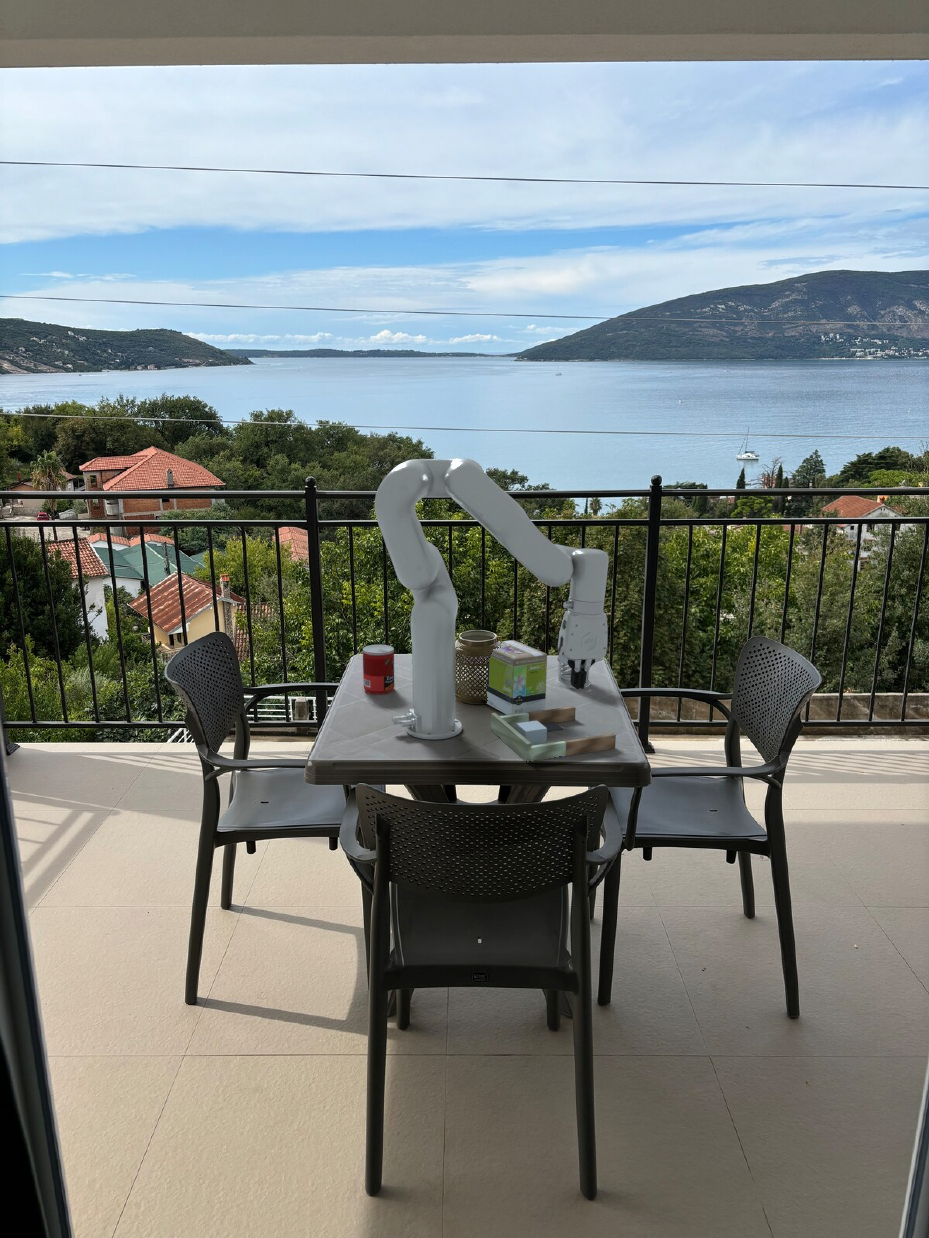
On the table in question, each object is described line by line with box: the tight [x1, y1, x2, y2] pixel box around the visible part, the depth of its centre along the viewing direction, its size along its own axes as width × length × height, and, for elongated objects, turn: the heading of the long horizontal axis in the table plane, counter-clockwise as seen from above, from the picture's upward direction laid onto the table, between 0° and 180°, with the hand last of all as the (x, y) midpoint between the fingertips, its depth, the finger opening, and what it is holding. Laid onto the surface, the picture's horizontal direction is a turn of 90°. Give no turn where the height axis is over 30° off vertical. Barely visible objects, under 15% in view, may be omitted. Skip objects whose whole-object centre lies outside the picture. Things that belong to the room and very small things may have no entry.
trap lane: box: [490, 705, 617, 763], centre depth 192 cm, size 21×19×4 cm
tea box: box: [486, 639, 548, 715], centre depth 210 cm, size 15×10×15 cm, turn 30°
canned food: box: [362, 644, 395, 695], centre depth 222 cm, size 8×8×11 cm
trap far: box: [542, 722, 564, 733], centre depth 198 cm, size 6×4×1 cm
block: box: [515, 721, 548, 746], centre depth 190 cm, size 5×5×4 cm
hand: (577, 686), depth 192 cm, fingers closed
